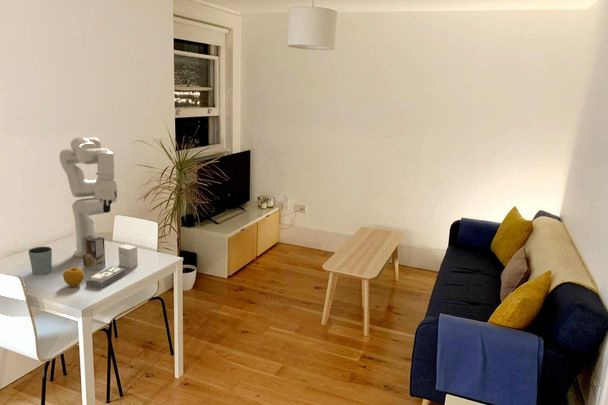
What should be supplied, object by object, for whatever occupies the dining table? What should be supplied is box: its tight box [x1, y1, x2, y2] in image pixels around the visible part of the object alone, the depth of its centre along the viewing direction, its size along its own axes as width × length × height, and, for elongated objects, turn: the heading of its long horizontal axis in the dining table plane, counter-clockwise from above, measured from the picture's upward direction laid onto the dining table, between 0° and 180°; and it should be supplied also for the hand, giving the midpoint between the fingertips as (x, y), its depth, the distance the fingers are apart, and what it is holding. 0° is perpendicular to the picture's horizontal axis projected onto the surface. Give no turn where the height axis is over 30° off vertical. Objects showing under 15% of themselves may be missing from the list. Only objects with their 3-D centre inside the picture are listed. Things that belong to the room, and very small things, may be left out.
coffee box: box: [82, 235, 106, 271], centre depth 238 cm, size 9×6×16 cm
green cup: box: [27, 246, 53, 276], centre depth 229 cm, size 10×10×12 cm
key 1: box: [90, 272, 106, 282], centre depth 219 cm, size 5×5×3 cm
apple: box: [62, 267, 85, 288], centre depth 217 cm, size 9×9×9 cm
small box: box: [117, 244, 139, 269], centre depth 244 cm, size 8×6×10 cm
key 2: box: [107, 266, 121, 273], centre depth 231 cm, size 5×5×3 cm
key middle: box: [102, 272, 114, 277], centre depth 225 cm, size 5×5×3 cm
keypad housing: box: [85, 266, 127, 290], centre depth 225 cm, size 19×8×3 cm, turn 166°
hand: (106, 211), depth 230 cm, fingers closed
